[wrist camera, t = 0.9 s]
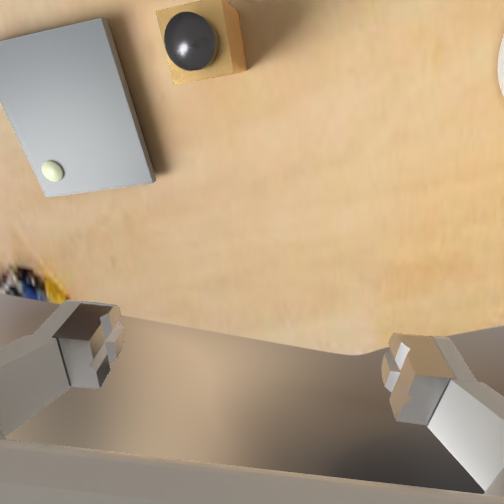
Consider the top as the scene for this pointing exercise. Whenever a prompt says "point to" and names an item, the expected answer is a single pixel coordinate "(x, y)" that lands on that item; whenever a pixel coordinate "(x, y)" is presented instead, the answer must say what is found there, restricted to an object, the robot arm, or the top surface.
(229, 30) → the block with dome knob
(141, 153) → the base
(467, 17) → the top surface
